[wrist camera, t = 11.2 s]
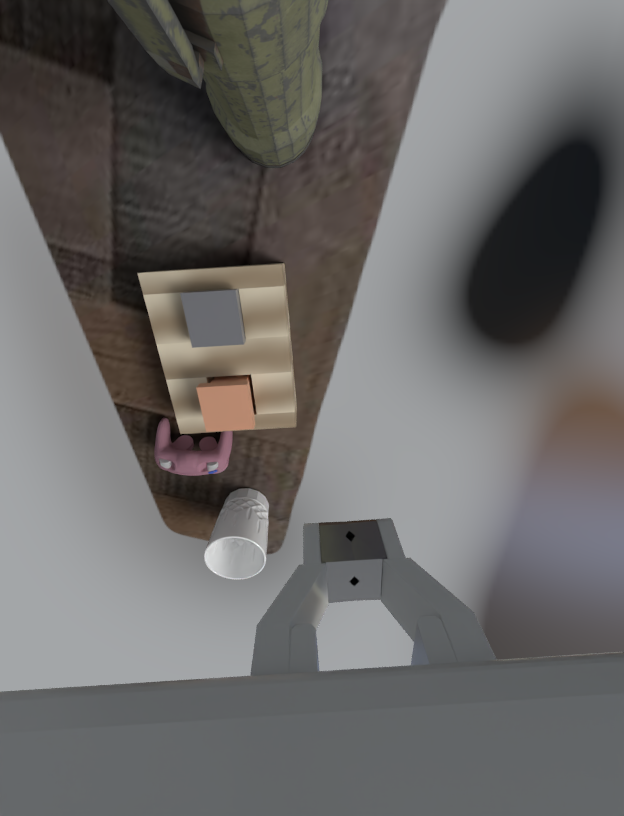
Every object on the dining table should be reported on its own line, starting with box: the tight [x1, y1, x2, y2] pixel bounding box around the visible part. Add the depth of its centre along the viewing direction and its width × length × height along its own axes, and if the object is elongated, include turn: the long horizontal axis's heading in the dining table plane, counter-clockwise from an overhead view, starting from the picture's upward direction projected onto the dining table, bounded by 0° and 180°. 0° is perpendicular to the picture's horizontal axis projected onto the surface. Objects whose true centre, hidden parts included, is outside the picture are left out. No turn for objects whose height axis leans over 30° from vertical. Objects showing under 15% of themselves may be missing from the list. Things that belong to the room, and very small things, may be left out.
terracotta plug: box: [196, 374, 255, 432], centre depth 37 cm, size 5×5×7 cm
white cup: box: [204, 488, 269, 579], centre depth 46 cm, size 8×8×10 cm
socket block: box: [138, 263, 297, 434], centre depth 37 cm, size 18×14×5 cm
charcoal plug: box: [180, 289, 246, 348], centre depth 34 cm, size 5×5×7 cm
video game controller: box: [155, 418, 233, 476], centre depth 43 cm, size 10×5×7 cm, turn 85°
